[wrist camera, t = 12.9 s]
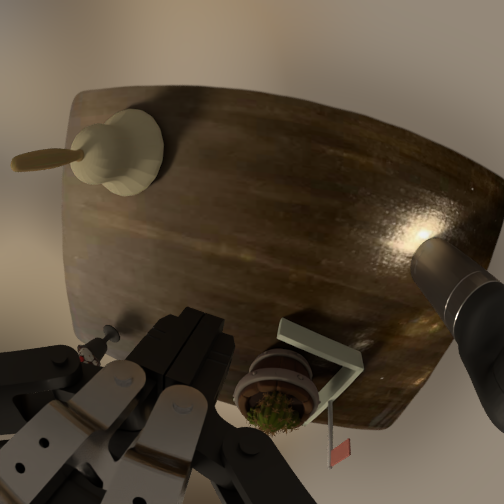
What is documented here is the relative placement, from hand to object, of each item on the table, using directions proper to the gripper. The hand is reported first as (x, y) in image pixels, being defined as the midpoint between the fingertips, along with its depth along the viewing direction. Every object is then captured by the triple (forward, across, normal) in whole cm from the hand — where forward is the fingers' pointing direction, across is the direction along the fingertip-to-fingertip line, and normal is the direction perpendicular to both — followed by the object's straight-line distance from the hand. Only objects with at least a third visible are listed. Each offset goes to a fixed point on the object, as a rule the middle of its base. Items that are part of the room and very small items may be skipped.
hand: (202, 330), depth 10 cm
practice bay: (+33, -12, +31) cm, 47 cm away
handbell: (+33, +27, -2) cm, 43 cm away
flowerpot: (+33, -9, +31) cm, 46 cm away
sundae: (+33, +30, +40) cm, 60 cm away
